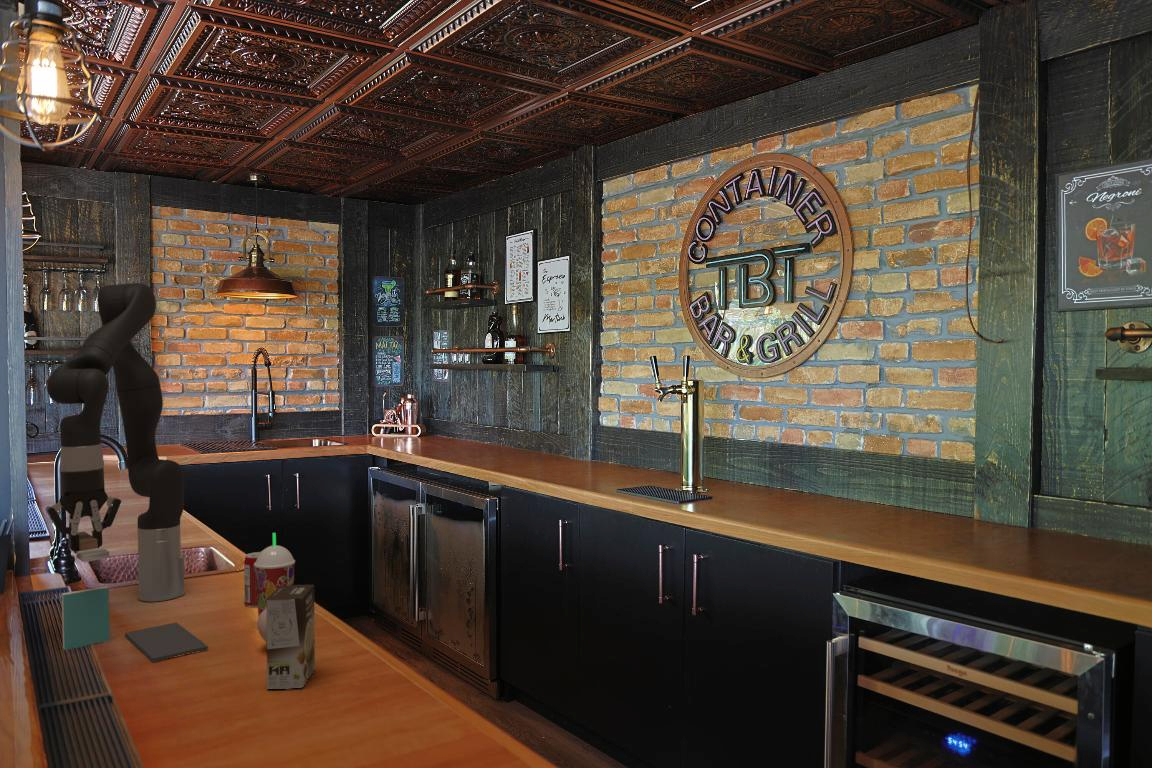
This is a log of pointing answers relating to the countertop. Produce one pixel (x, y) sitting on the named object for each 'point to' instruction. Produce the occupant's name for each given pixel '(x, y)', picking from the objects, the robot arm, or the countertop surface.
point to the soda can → (250, 579)
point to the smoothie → (272, 572)
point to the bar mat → (165, 641)
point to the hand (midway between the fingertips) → (86, 550)
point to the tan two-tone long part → (89, 548)
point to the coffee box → (290, 636)
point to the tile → (85, 617)
